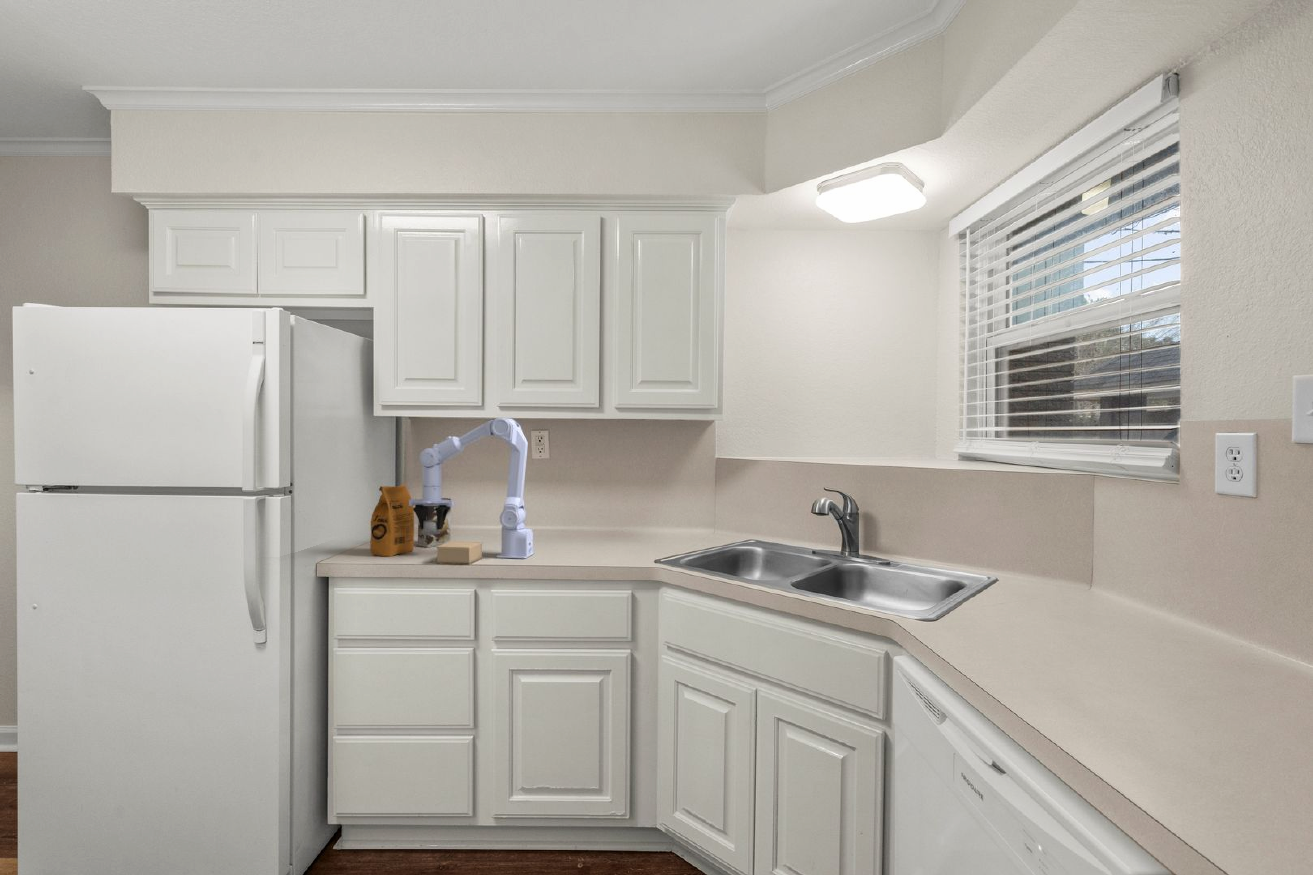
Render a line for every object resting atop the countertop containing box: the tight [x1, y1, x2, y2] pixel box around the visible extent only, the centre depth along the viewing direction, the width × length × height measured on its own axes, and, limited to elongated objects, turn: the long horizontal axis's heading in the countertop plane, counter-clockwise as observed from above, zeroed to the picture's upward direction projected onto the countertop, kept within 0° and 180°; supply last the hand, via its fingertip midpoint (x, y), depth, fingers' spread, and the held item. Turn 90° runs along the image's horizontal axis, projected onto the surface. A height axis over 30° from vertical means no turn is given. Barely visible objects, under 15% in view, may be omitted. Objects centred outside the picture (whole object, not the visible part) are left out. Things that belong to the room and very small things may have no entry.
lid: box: [436, 540, 483, 550], centre depth 183 cm, size 10×9×1 cm
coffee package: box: [369, 483, 415, 558], centre depth 194 cm, size 10×12×22 cm
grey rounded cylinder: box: [423, 520, 440, 535], centre depth 191 cm, size 5×5×4 cm
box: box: [436, 543, 483, 566], centre depth 183 cm, size 10×9×4 cm
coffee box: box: [417, 497, 452, 548], centre depth 209 cm, size 9×6×16 cm
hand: (431, 528), depth 191 cm, fingers closed on grey rounded cylinder, 5 cm apart
